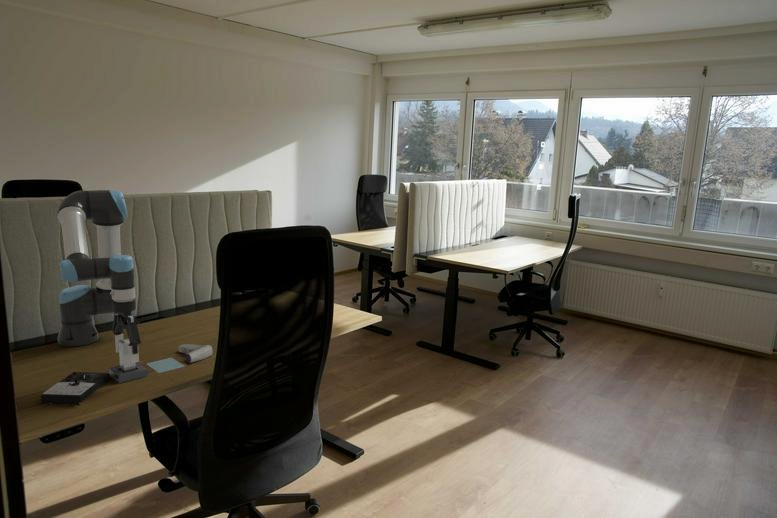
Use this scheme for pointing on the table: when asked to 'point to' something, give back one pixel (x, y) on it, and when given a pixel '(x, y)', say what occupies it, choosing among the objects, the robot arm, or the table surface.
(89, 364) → the table surface
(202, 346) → the infrared thermometer
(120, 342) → the long steel block
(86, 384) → the multimeter
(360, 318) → the table surface
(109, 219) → the robot arm
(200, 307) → the table surface
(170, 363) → the slate mat
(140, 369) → the socket block
